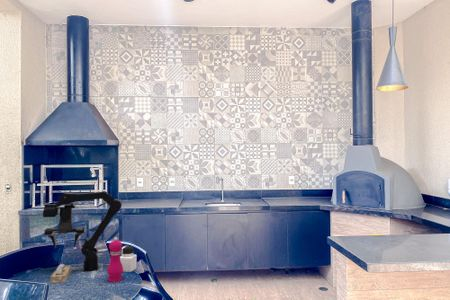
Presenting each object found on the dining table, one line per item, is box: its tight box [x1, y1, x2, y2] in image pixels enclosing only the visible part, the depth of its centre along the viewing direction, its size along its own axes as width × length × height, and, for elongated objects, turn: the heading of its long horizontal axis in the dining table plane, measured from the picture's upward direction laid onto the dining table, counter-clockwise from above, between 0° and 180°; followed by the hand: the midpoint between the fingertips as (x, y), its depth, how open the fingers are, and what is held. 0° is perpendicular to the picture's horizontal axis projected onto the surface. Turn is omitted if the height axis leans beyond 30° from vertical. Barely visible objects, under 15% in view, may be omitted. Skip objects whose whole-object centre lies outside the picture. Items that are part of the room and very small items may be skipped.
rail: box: [50, 265, 72, 284], centre depth 167 cm, size 6×17×3 cm, turn 15°
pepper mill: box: [106, 236, 123, 283], centre depth 163 cm, size 7×7×20 cm
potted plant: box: [120, 245, 138, 273], centre depth 179 cm, size 7×7×12 cm
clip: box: [56, 263, 66, 275], centre depth 164 cm, size 2×7×6 cm, turn 15°
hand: (65, 247), depth 177 cm, fingers open, 9 cm apart
